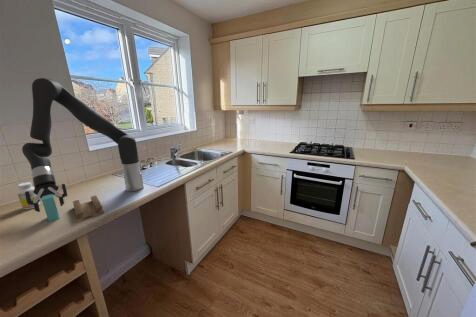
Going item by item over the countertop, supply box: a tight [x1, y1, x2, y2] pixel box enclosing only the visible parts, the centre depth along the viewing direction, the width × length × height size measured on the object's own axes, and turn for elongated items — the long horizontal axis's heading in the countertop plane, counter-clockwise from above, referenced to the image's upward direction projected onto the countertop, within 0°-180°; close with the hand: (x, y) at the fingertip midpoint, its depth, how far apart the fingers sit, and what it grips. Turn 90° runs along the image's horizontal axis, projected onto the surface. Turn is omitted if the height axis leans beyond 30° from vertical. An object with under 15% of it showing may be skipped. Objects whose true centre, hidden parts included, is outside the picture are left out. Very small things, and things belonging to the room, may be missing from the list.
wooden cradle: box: [72, 194, 105, 222], centre depth 99 cm, size 10×17×4 cm, turn 43°
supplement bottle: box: [16, 181, 41, 210], centre depth 102 cm, size 7×7×13 cm
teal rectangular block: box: [41, 194, 60, 223], centre depth 92 cm, size 4×5×11 cm, turn 43°
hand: (50, 208), depth 91 cm, fingers open, 7 cm apart
